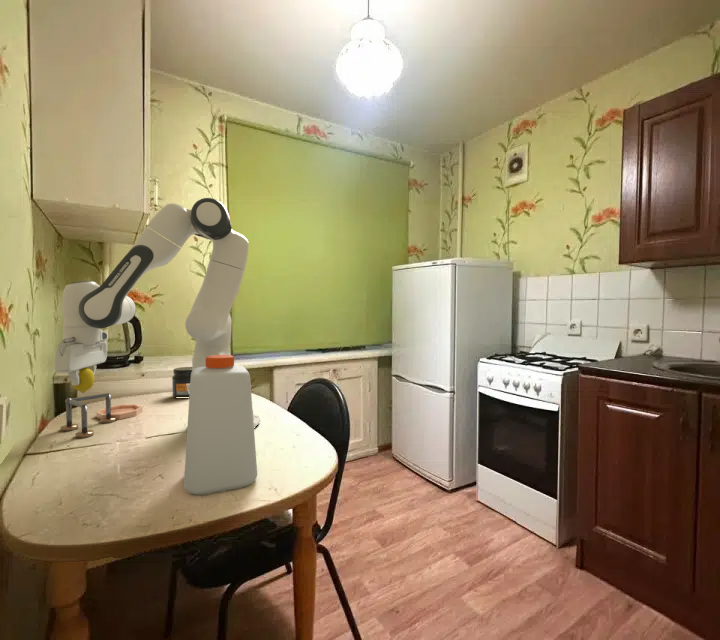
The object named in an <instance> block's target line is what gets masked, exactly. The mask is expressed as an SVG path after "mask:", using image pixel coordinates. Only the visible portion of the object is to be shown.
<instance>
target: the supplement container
mask: <svg viewBox="0 0 720 640" xmlns="http://www.w3.org/2000/svg"><path fill="white" fill-rule="evenodd" d="M172 371H173V376H171V380H172V383H171V385H172V386H171V387H172V394H171V395H172V397H173V396H174V397H189V395H190V380H191V372H192V366H183V367H182V366H181V367H176V368H173V370H172ZM174 397H173V398H174Z"/></svg>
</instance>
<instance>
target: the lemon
mask: <svg viewBox="0 0 720 640" xmlns="http://www.w3.org/2000/svg"><path fill="white" fill-rule="evenodd" d="M78 375H79V378H81V384H79V385H72V384H71V385H72V388H73V389H74V390H76V391H78V392H80V393H82V394H84V393H86V392H87V391H88V390H90V389H92V387H93V386H94V383H95V380H96V379H95V374H93V372H92V370H90V369H89V368H87V367H86V368H82V369H79V373H78Z"/></svg>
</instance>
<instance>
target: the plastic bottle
mask: <svg viewBox="0 0 720 640" xmlns="http://www.w3.org/2000/svg"><path fill="white" fill-rule="evenodd" d="M251 384H252V383H251V375H250V372H249V371H248V369H247V368H246V367H245V366H243V365H240V364H235V356H234V355H230V354H229V355H212V356H208V357H206V367H198V368H195V369H194V370H193V371H192V372H191V380H190V395H189V398H188V399H189V400H188V415H187V429H186V443H185V444H186V446H185V460H184V461H185V462H184V472H183V473H184V478H183V487H184V489H185V491H186V492H187V493H188V494H192V495H194V496H195V495H196V496H203V495H208V494H213V493H215V494H216V493H220V492H225V491H231V490H237V489H241V488H245V487H247V486H250V485H251V484H253V483H254V482H255V480H256V479H257V477H258V466H257V465H258V464H257V451H256V449H257V448H256V438H255V436H256V435H255V429H254V422H253V414H254V409H253V399H252V386H251Z"/></svg>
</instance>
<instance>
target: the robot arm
mask: <svg viewBox="0 0 720 640" xmlns="http://www.w3.org/2000/svg"><path fill="white" fill-rule="evenodd" d="M227 209H228V208H227V207H226V206H225V204H224V203H222V202H221V201H219V200H218V199H216V198H211V197H203V198H200V199H199V200H197V201H196V202H195V203H194V204H193V205H192V207H191V209H189V208H186V207H185V206H183V205H181V204H177V203H172V202H171V203H167V204H166V205H164V206H163V207H162V208H161V209H160V210H159V211H158V212H157V213H156V214H155V215H154V216H153V218H152V219H150V221H149V222H148V223H147V225H146V226H145V228H144V230H143V231H142V233H141V234H140V235H139V237H138V238H137V239H136V241H135V243H134V244H133V245H132V247H131V248H130V250H129V251H128V252H127V253H126V254H125V256H124V257H123V258H122V259H121V260H120V261H119V262H118V264H117V265H116V266H115V267H114V269H113V270H112V271H111V273H110V274H109V275H108V277H107V278H106V279H105V280H104V281H103V282H102V284H101V285H99V284H98V282H95V281H92V280H82V281H79V280H78V281H74V282H70V283H67V284H66V285H65V287H64V289H63V293H62V301H61V302H62V305H61V307H62V308H61V309H62V314H63V318H64V320H63V324H62V339H61V341H60V343H58V346H57V347H56V349H55V358H54V370H55V372H56V373H67V374H68V377H69V378H70V381H71V384H70V385H79V384H81V378H79V375H78V373H79V369H82V368H89V369H90V370H92V372H93V374H94V375H95V373H96V370H97V365H100V364H103V363H105V362H106V360H107V357H108V342H107V340H108V339H109V334H108V332H106V331H104V330H103V329H106V328H108V327H112V326H118V325H122V324H125V323H127V322H130V321H131V320H133V318H134V317H135V316H136V313H137V305H136V303H135V302H134V299H132V298H131V297H130V296H129V293H130V291H132V289H133V288H134V287H135V285H136V284H137V282H138V281H139V280H140V279H141V278H142V277H143V276H144V275H145V274H147V273H148V272H149V271H151V270H154V269H157V268H160V267H163V266H165V265H168V264H169V263H170V262H171V261H172V260H173V259H174V258H175V257H177V255H178V253H179V252H180V251H181V249H182V248H183V246H184V245H185V243H186V242H187V241H188V239H189V238H191V236H193V235H194V236H196V237H200V238H204V239H206V240H211V242H212V251H211V255H210V257H209V258H210V259H209V261H208V265H207V269H206V271H205V275H204V278H203V281H202V283H201V286H200V288H199V291H198V293H197V295H196V297H195V300H194V302H193V305H192V306H191V309H190V311H189V313H188V315H187V317H186V319H185V322H184V325H185V330H186V332H187V334H188V335H189V336H190V337H191V338H192V339H194V340H195V345H194V350H193V355H192V357H191V367H192V371H193V370H194V369H195V368H198V367H206V357H208V356H212V355H230V349H231V339H232V338H231V337H232V321H233V320H232V317H231V314H230V313H231V310H232V307H233V305H234V302H235V300H236V299H237V296H238V295H239V291H240V287H241V284H242V280H243V278H244V273H245V270H246V267H247V263H248V256H249V247H250V246H249V245H250V244H249V243H250V242H249V241H248V239H247V238H246V236H245V235H243V234H241V233H239V232H237V231H235V230H233V226H232V221H231V218H230V215H229V212H228V211H229V210H227ZM253 422H254V427H256V426H257V425H258V424H259V422H260V423H261V417H260V416H259V415H257V414H254V413H253ZM259 425H260V424H259ZM259 425H258V426H259ZM258 426H257V427H258ZM257 427H256V428H257Z"/></svg>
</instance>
